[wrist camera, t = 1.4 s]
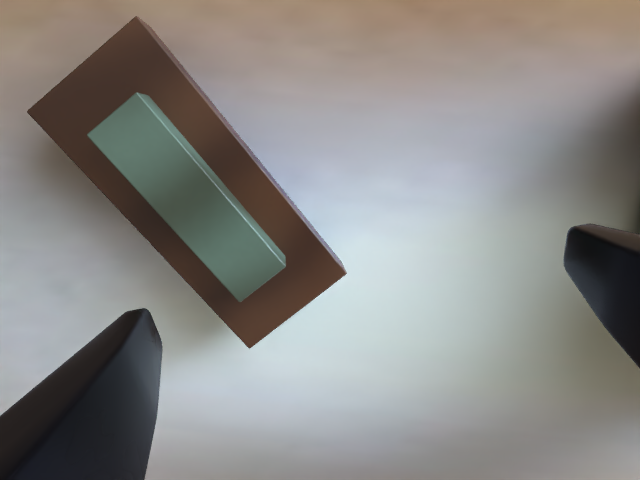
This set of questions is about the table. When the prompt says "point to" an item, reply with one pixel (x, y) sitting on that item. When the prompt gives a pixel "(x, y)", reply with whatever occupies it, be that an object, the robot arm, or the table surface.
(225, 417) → the table surface
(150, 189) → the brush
